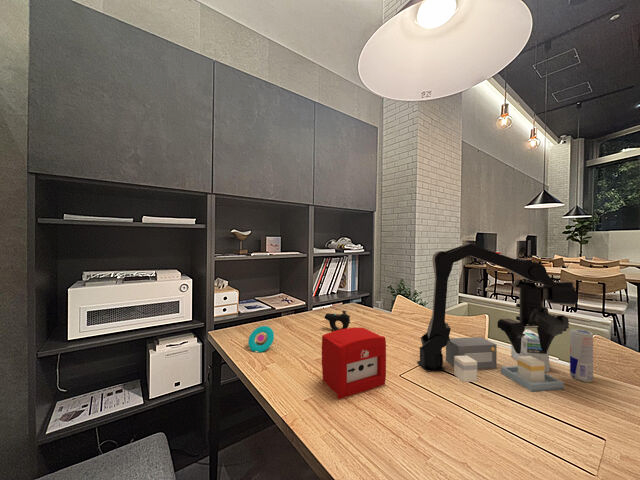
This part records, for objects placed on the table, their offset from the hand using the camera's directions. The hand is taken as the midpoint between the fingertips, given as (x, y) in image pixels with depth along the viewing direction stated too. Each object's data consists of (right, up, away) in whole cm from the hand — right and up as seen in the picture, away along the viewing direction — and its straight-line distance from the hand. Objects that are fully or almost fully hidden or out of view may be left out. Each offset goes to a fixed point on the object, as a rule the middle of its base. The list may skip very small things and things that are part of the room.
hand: (531, 352), depth 79 cm
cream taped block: (0, -8, 0) cm, 8 cm away
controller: (-57, -9, +43) cm, 72 cm away
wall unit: (-13, -9, +10) cm, 19 cm away
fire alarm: (-55, -9, -2) cm, 56 cm away
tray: (0, -9, 0) cm, 9 cm away
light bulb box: (+8, -9, +11) cm, 17 cm away
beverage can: (+17, -9, +1) cm, 19 cm away
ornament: (-89, -9, +23) cm, 92 cm away
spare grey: (-20, -9, +2) cm, 21 cm away
